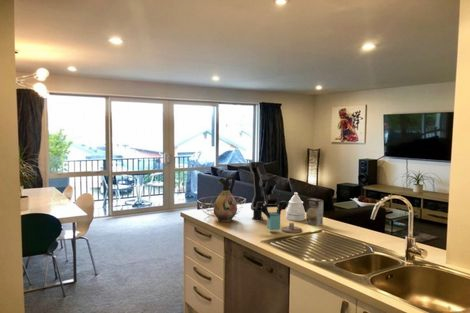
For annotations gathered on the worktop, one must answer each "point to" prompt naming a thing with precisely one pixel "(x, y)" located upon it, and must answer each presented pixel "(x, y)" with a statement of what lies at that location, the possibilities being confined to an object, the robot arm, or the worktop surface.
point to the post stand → (291, 229)
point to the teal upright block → (273, 221)
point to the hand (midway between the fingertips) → (274, 218)
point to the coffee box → (314, 212)
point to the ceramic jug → (225, 201)
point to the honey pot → (295, 209)
